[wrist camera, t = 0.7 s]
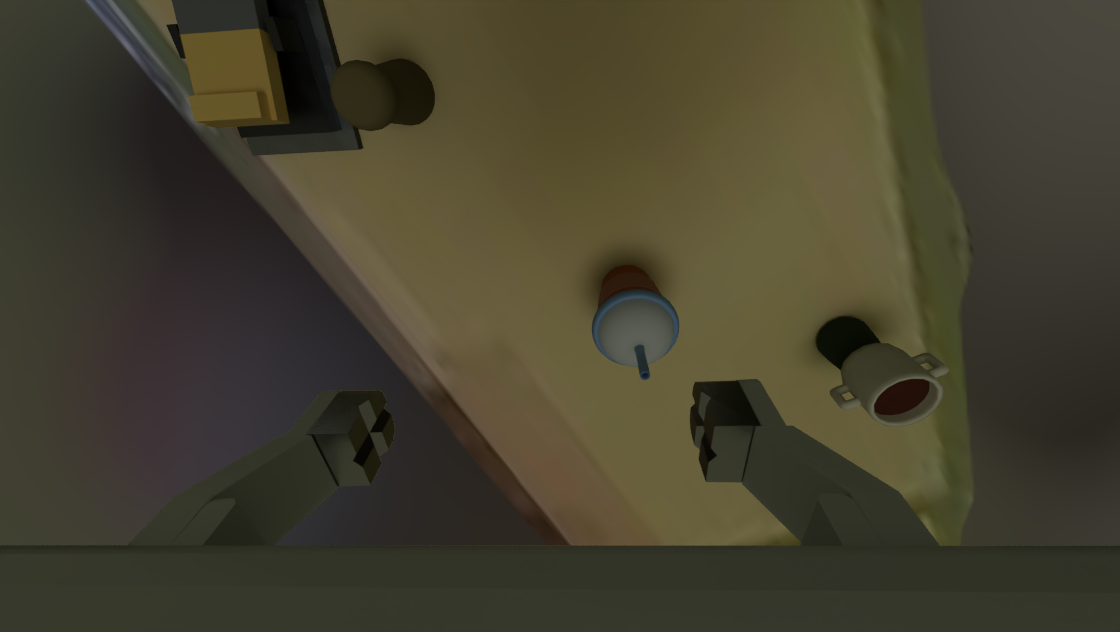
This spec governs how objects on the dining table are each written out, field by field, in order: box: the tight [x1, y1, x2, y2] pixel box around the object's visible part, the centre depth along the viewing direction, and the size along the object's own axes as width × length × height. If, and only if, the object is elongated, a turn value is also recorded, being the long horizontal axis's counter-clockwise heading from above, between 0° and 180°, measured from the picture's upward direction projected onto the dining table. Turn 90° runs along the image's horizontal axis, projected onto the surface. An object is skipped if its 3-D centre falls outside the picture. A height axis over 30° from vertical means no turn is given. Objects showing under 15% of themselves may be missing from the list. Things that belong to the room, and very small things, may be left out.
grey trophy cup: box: [817, 318, 949, 427], centre depth 49 cm, size 11×7×13 cm, turn 123°
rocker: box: [172, 0, 290, 128], centre depth 35 cm, size 14×7×3 cm, turn 3°
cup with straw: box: [592, 266, 679, 380], centre depth 45 cm, size 9×9×18 cm
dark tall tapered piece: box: [330, 59, 435, 131], centre depth 38 cm, size 6×6×11 cm
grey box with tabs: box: [167, 0, 363, 155], centre depth 38 cm, size 20×12×7 cm, turn 3°
